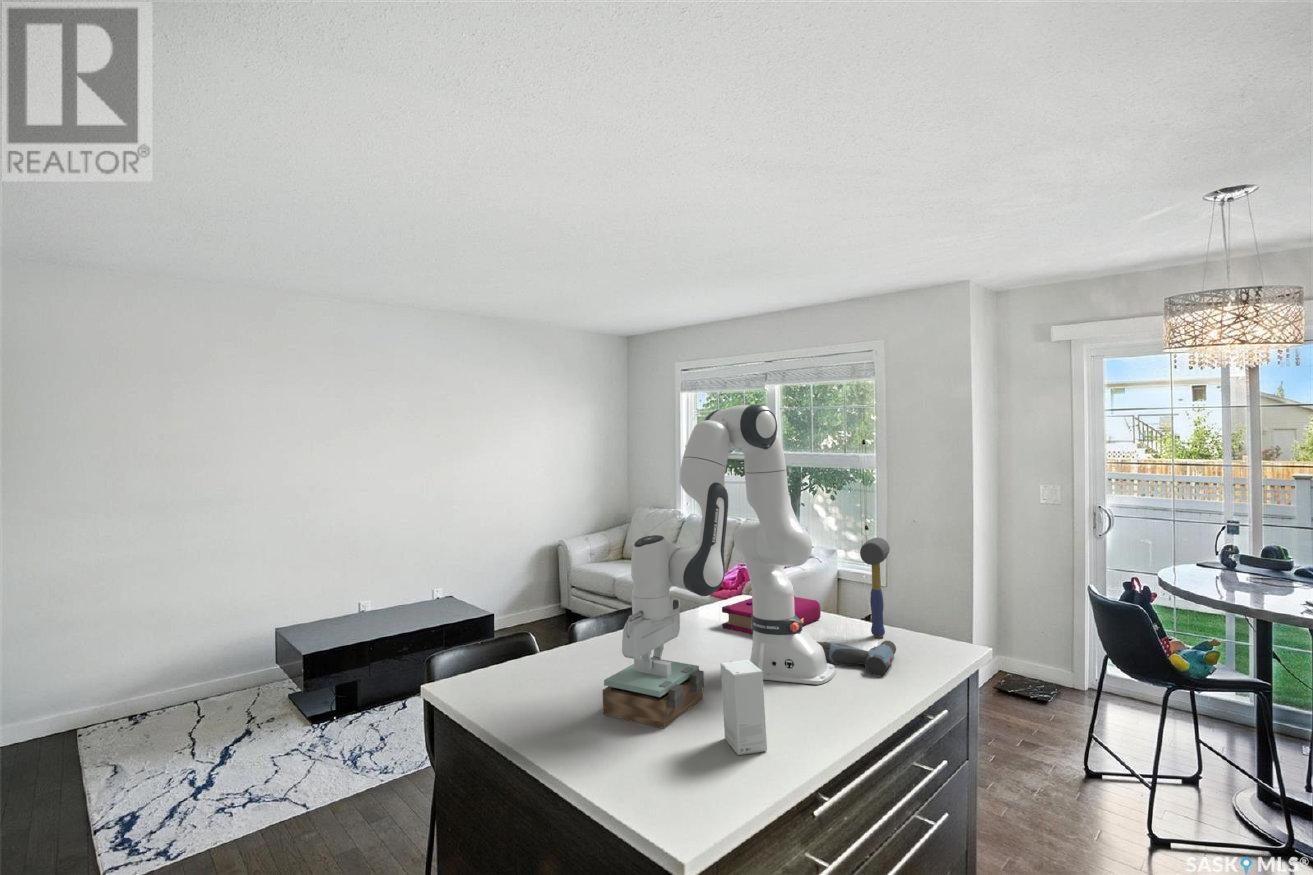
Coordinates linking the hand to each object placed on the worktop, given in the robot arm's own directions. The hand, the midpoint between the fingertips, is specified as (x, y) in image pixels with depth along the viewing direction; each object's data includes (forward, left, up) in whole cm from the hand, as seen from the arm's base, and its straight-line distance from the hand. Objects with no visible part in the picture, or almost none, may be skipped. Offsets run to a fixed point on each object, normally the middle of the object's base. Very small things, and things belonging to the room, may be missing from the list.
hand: (652, 666), depth 148 cm
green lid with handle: (0, 0, -3) cm, 3 cm away
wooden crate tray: (0, 0, -9) cm, 9 cm away
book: (0, -76, -10) cm, 77 cm away
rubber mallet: (-34, -76, -9) cm, 84 cm away
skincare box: (-26, +8, -9) cm, 29 cm away
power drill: (-33, -52, -10) cm, 62 cm away
